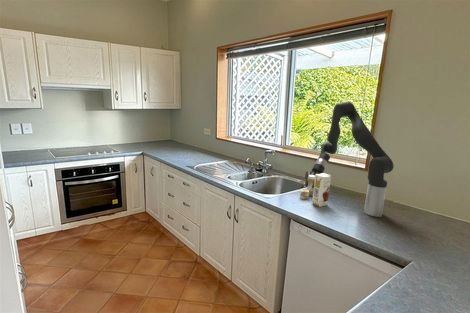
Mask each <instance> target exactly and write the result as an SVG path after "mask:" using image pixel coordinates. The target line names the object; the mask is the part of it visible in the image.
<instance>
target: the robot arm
mask: <svg viewBox="0 0 470 313" xmlns="http://www.w3.org/2000/svg"><path fill="white" fill-rule="evenodd" d="M344 117H347V118H348V119H349V121H350V123H351V135H352V137H353V139H354V140H355V141H356V143H357V145H358V146H359V147H361V148H362V149H363V150H365V151H366V152H367V153H368V154H370V156H372V158H371V160H370V161H369V163H368V171H367V180H368V183H367V189H366V196H365V201H364V208H363V213H364V214H365V215H367V216H372V217H377V218H378V217H379V218H381V217H383V211H384V207H385V206H384V205H385V198H386V192H387V187H388V181H387V180H385V178H384V177H385V176H384V175H385V174H388V173H391V172H392V171H393V170H394V167H395V166H394V162H393V160H392V159H391V158H390V156H389V155H388V154H387V152H385V151H384V149H383V148H382V147H381V145H380V144H379V142H378V141H377V140H376V138H375V137H374V135H373V134H372V132H371V131H370V129H369V128H368V127H367V125H366V124H365V122H364V121H363V119H362V117H361V116H360V114H359V113H358V111H357V109H356V106H355V105H354V104H353V103H352V102H351V101H343V102H338V103H336V104H334V107H333V111H332V117H331V125H330V128H329V129H330V130H329V132H328V136H327V139H326V140H327V141H324V142H323V143H322V145H321V149H320V154H319V156H318V158H317V160H316V161H315V163H314V165H313V167H312V169H311V170H310V172H308V171H306V172H305V176H304V179H305V183H304V185H305V187H308V176H309V175H314V176H315V174H321V173H324V172H325V170H326V168H327V165H328V163H329V161H330V160H331V155H335V154H336V153H337V150H338V140H339V138H340V135H341V128H340V122H341V119H342V118H344ZM312 188H314V184H313V186H312Z"/></svg>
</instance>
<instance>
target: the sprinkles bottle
mask: <svg viewBox="0 0 470 313" xmlns="http://www.w3.org/2000/svg"><path fill="white" fill-rule="evenodd" d="M314 182H315V176H314V175H310V174H309V176H308V186H306V187H307V188H306V190H309V196H311V197H313V191H314V188H312V186H313V184H314Z"/></svg>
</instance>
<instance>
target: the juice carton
mask: <svg viewBox="0 0 470 313" xmlns="http://www.w3.org/2000/svg"><path fill="white" fill-rule="evenodd" d="M331 179H332V175H331V174H327V173H324V172H323V173H321V174H315V182H314V191H313V195H312V201H311V204H312V205H315V206H317V207H318V208H321V207H322V208H323V207H325V206H328V202H329V195H330V188H331V181H332V180H331Z"/></svg>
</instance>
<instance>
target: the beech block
mask: <svg viewBox="0 0 470 313" xmlns="http://www.w3.org/2000/svg"><path fill="white" fill-rule="evenodd" d="M299 194H300V196H299V198H300V200H309V196H310V195H309V190H307V188H306V189H305V188H300V192H299Z"/></svg>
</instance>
